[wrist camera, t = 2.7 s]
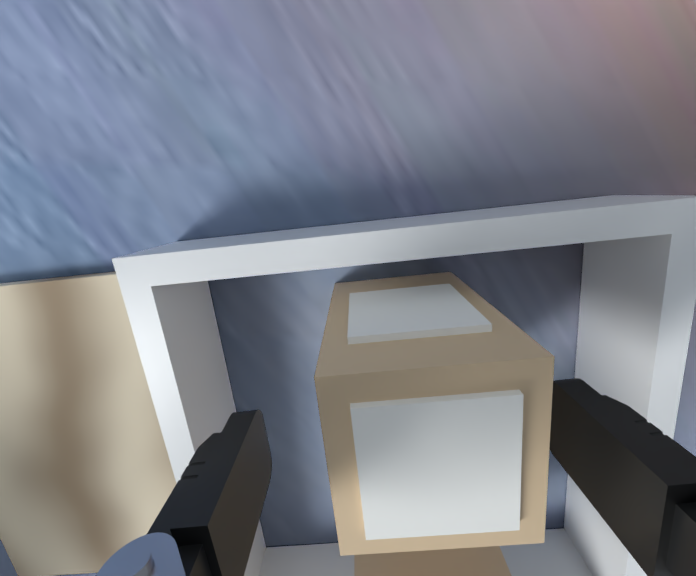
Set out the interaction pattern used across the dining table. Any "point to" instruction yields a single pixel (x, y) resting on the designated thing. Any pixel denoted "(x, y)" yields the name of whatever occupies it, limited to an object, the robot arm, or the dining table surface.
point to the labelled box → (432, 418)
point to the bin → (431, 242)
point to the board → (74, 427)
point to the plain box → (434, 563)
